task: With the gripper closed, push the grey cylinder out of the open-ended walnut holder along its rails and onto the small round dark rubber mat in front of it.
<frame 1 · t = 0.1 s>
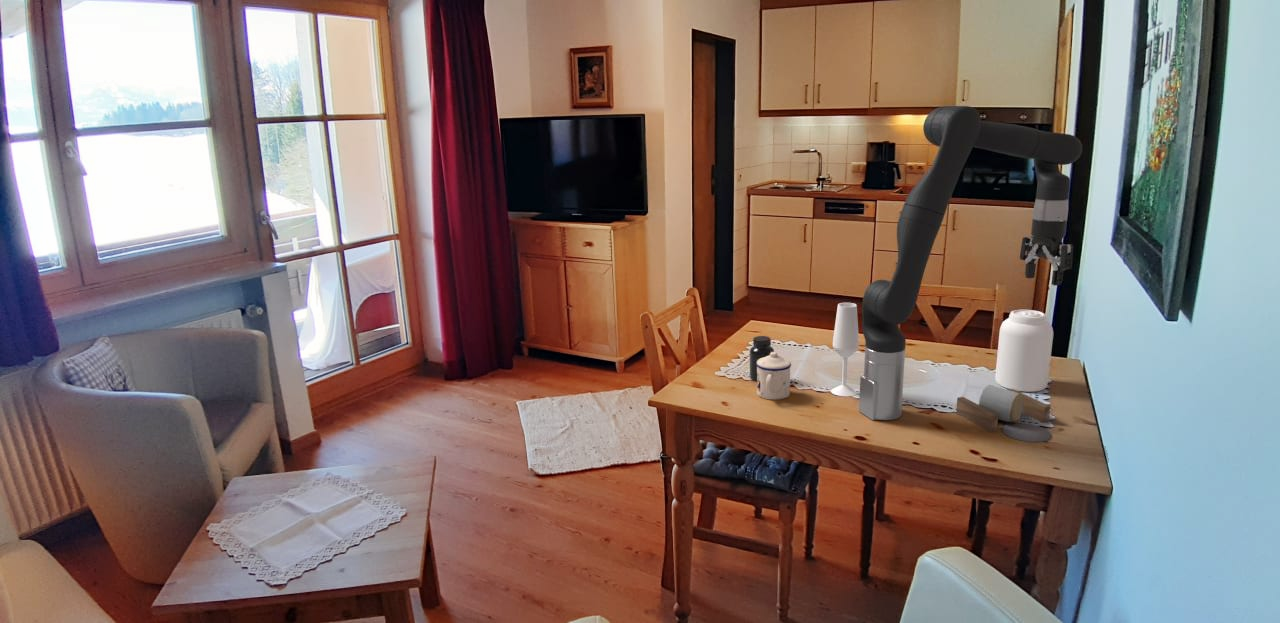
hand: (1042, 281, 188), 29 cm above the table, tool pointing down, fingers open, 8 cm apart
dark mat: (1026, 432, 170), on the table
champagne flute: (843, 392, 199), on the table
teacup with lid: (772, 396, 197), on the table
supplement bottle: (761, 379, 210), on the table
mug holder: (1001, 417, 179), on the table
white lidded jar: (1020, 385, 199), on the table
grey cylinder: (1001, 417, 179), on the table, touching dark mat
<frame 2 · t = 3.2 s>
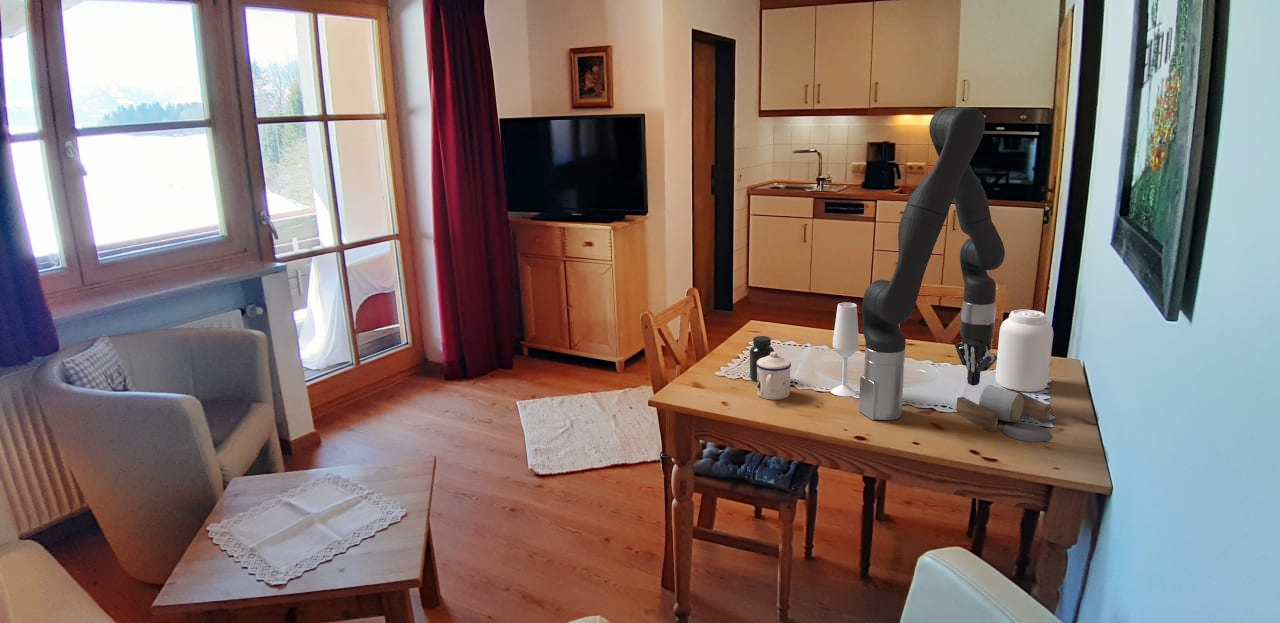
hand: (973, 384, 188), 4 cm above the table, tool pointing down, fingers closed
nothing on the table moved.
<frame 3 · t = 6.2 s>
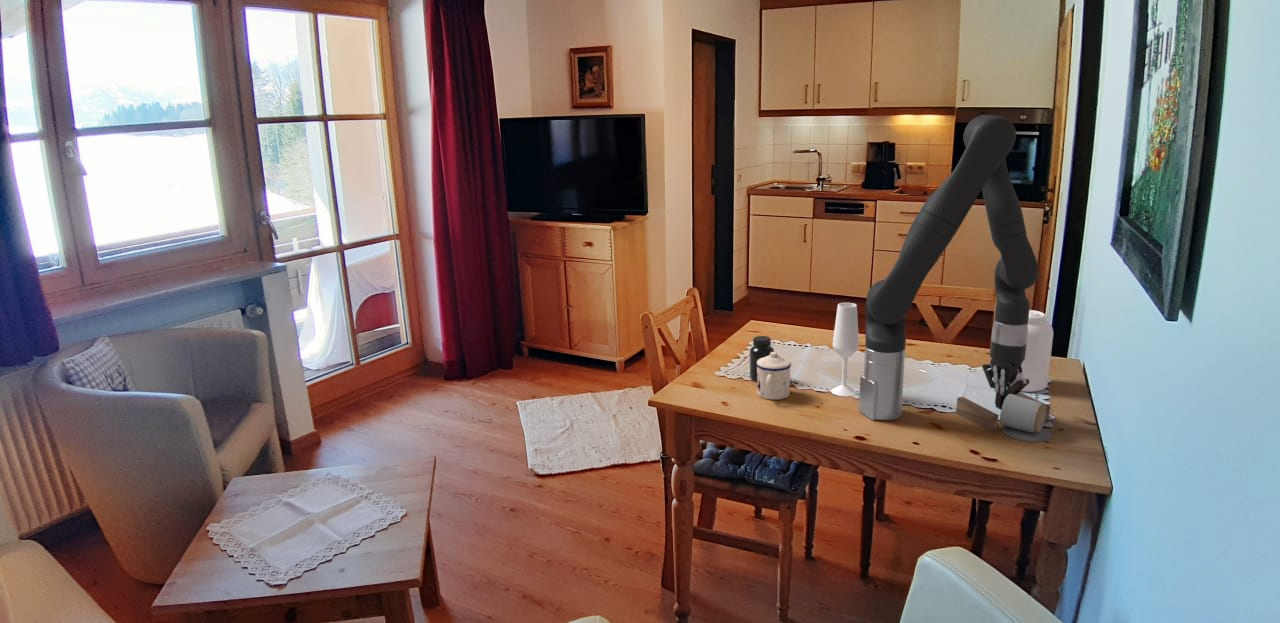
hand: (1001, 408, 179), 2 cm above the table, tool pointing down, fingers closed
grey cylinder: (1022, 427, 173), on the table, touching hand
everything else where it was.
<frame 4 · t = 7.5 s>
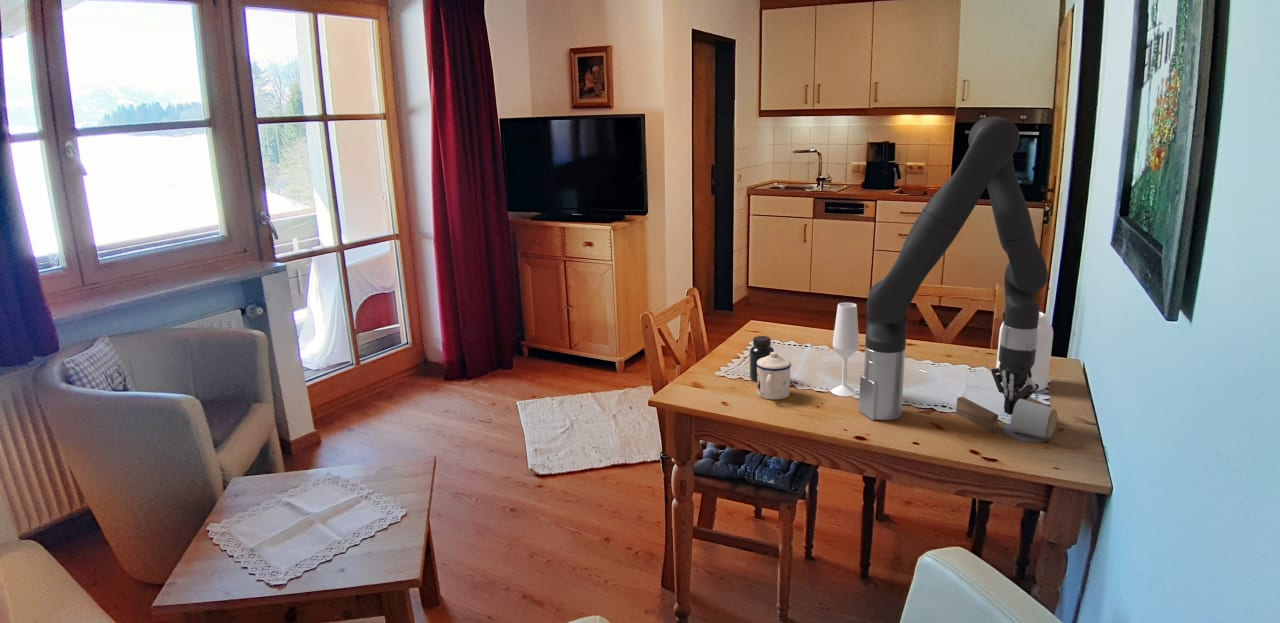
hand: (1010, 413, 176), 2 cm above the table, tool pointing down, fingers closed
grey cylinder: (1032, 433, 170), on the table, touching dark mat, hand
everything else where it was.
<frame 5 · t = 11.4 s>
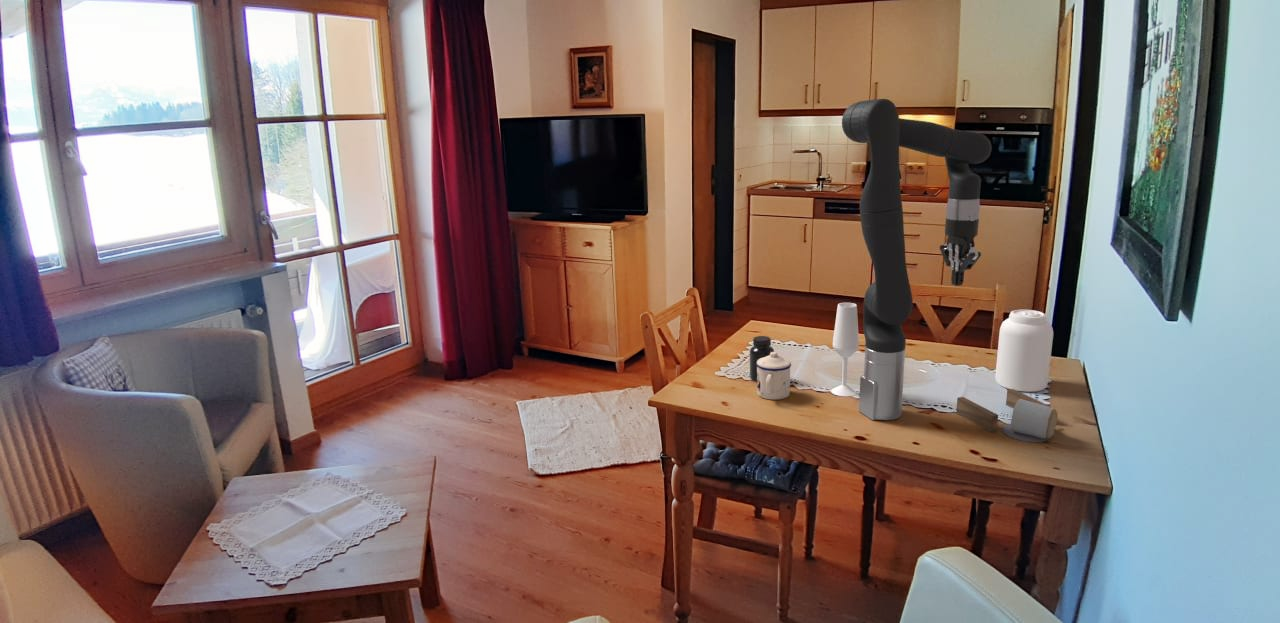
hand: (957, 284, 188), 29 cm above the table, tool pointing down, fingers closed
grey cylinder: (1032, 433, 170), on the table, touching dark mat
everything else where it was.
at the end: grey cylinder inside the target area (0.3 cm from its centre), on the table; grey cylinder tilted 0°; grey cylinder moved 9.7 cm from its start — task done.
